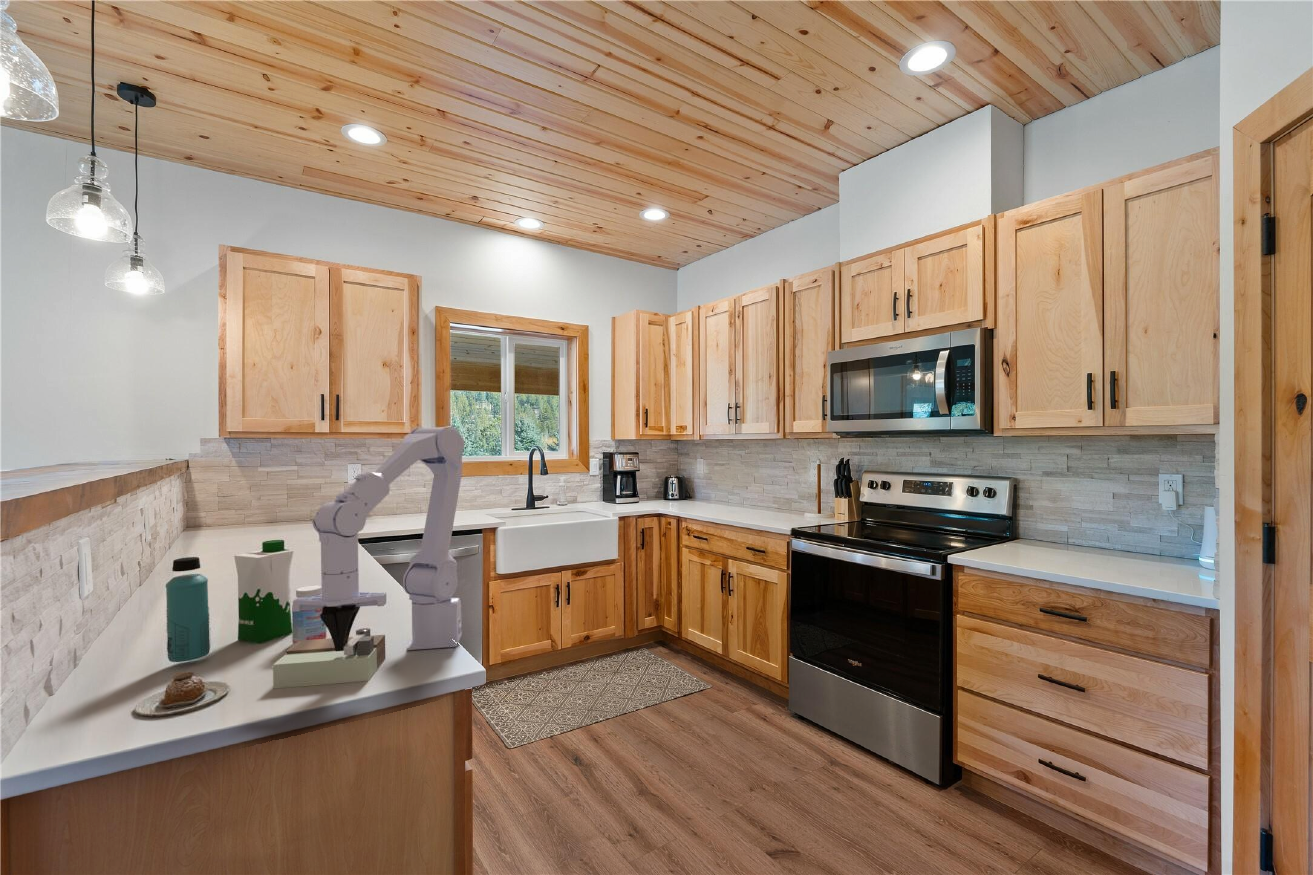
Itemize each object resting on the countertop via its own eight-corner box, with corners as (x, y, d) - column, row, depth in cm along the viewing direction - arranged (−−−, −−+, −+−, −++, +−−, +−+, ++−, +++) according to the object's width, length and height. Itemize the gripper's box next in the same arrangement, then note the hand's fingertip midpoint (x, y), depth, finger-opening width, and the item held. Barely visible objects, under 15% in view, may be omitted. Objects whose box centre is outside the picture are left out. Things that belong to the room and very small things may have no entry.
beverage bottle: (219, 659, 114) (217, 555, 114) (181, 672, 107) (179, 562, 107) (195, 656, 116) (193, 553, 116) (157, 668, 109) (155, 560, 109)
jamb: (385, 658, 113) (385, 634, 113) (377, 669, 108) (376, 644, 108) (299, 664, 110) (299, 640, 110) (286, 676, 105) (286, 651, 105)
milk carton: (299, 632, 129) (297, 540, 129) (257, 646, 121) (256, 548, 121) (271, 628, 132) (270, 538, 132) (229, 641, 124) (227, 545, 124)
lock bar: (358, 638, 110) (358, 628, 110) (372, 637, 111) (372, 627, 111) (341, 655, 102) (340, 644, 102) (355, 654, 102) (355, 643, 102)
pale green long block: (377, 669, 107) (376, 633, 107) (368, 680, 102) (368, 643, 102) (286, 676, 105) (285, 639, 105) (273, 688, 100) (272, 649, 100)
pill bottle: (311, 648, 119) (310, 592, 119) (285, 646, 120) (284, 591, 120) (333, 638, 125) (332, 584, 125) (308, 636, 126) (307, 583, 126)
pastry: (244, 685, 103) (243, 658, 103) (203, 717, 91) (202, 687, 91) (166, 691, 101) (166, 664, 101) (114, 725, 89) (114, 694, 89)
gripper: (284, 578, 98) (285, 660, 98) (377, 573, 101) (379, 654, 101) (302, 569, 105) (303, 646, 105) (389, 565, 108) (390, 640, 108)
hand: (341, 649), depth 103 cm, fingers closed
